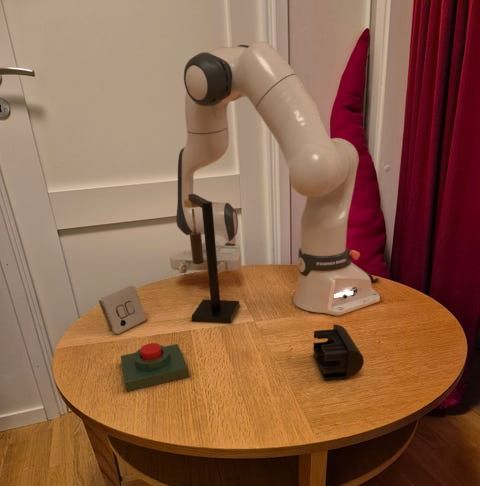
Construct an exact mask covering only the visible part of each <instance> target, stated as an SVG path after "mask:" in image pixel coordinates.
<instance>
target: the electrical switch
mask: <svg viewBox="0 0 480 486" xmlns="http://www.w3.org/2000/svg"><path fill="white" fill-rule="evenodd" d="M98 303H99V306H100V308H101V311H102V313H103V316H104V319H105V321H106V323H107V327H108V329H109V331H112V333H113V334H115V335H120V334H121V333H124V332H126V331H128V330H129V329H131V328H134V327H135V326H137V325H139V324H141V323H143V322H145V321H146V320H147V317H146V314H145V311H144V308H143V305H142V302H141V299H140V298H139V295H138V292H137V289H136V287H135V286H133V285H130V286H127V287H126V288H123V289H120V290H117V291H115V292H112V293H111V294H108V295H105V296H103V297H102V298H101V299H100V300H99V301H98Z"/></svg>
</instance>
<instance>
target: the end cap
mask: <svg viewBox="0 0 480 486" xmlns="http://www.w3.org/2000/svg"><path fill="white" fill-rule="evenodd" d="M313 338H314V339H317V340H324V339H327V340H326V341H318V342H317V341H316V342H313V346H312V347H313V358H314V360H315V363H316V365H317V367H318V369H319V372H320V374H321V377H322V379H323V381H326V382H327V381H338V380H339V381H340V380H347V379H349V378H351V377H353V376H356V375H357V374H358V373H359V372H360V371H361V370H362V368H363V366H364V356H363V354H362V353H361V351H360V350H359V348H358V346H357V345H356V343H355V342H354V340H353V339H352V337H351V335H350V334H349V332H348V331H347V329H346V328H345V327H344V326H342V325H340V324H333V325H332V329H321V330H313Z"/></svg>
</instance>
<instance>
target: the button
mask: <svg viewBox="0 0 480 486" xmlns="http://www.w3.org/2000/svg"><path fill="white" fill-rule="evenodd" d="M139 349H140V352H141V357H142V359H143V360H155V359H158V358H159V357H161V356H162V351H161V346H160V344H159V343H156V342H149V343H146V344H144V345H142V346H141V347H140V348H139Z"/></svg>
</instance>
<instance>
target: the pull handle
mask: <svg viewBox="0 0 480 486" xmlns="http://www.w3.org/2000/svg"><path fill="white" fill-rule="evenodd" d="M192 218H193V227H194V232H191V233H190V235H189V241H190V251H192V260H193V264H202V263H204V258H203V248H202V243H203V240H202V234H201V232H196V224H195V214H194V209H192Z"/></svg>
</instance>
